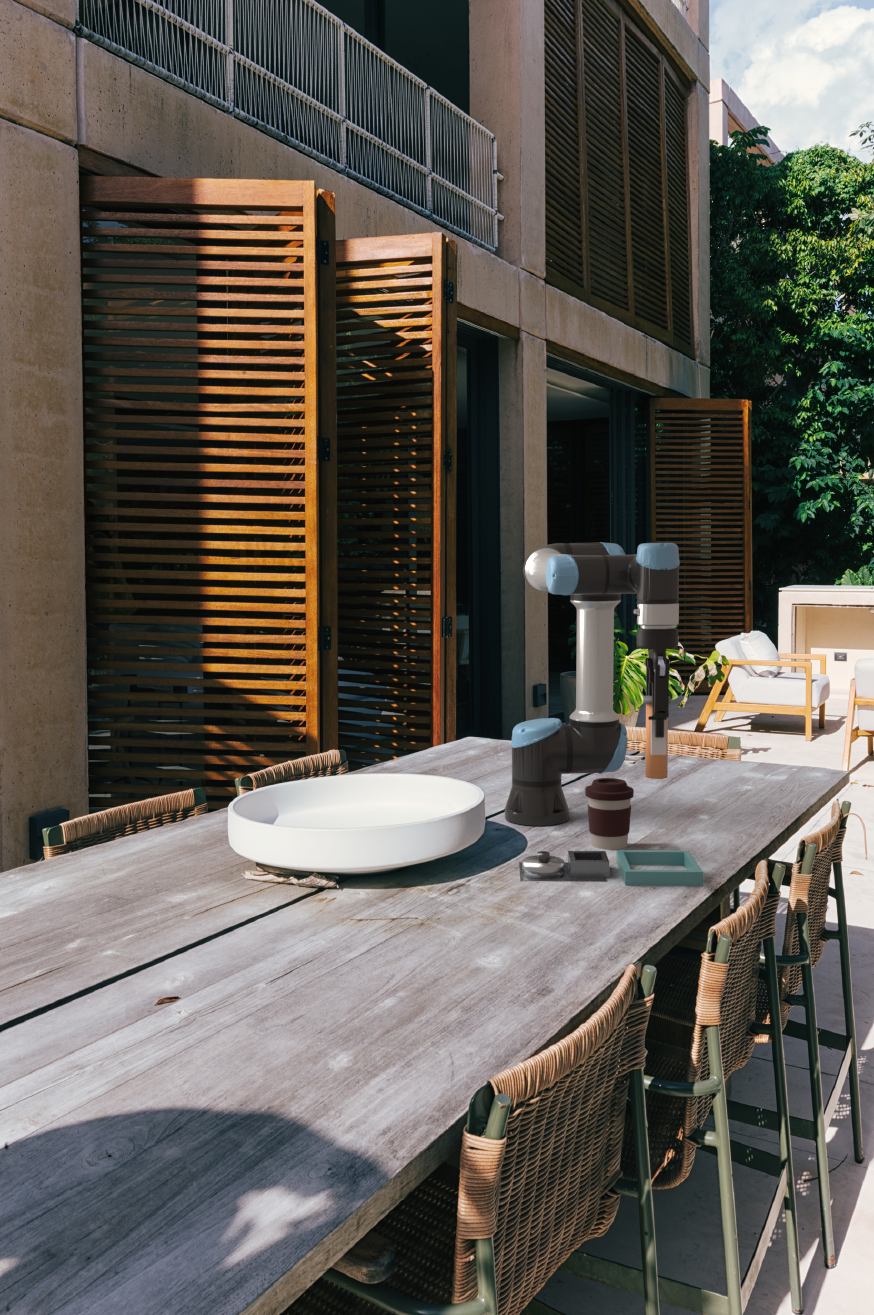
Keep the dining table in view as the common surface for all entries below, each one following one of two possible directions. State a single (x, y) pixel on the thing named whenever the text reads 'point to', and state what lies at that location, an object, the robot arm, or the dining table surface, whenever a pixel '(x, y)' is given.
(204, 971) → the dining table surface
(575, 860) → the silver rectangular stand
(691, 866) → the tray
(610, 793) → the coffee cup
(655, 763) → the pin
